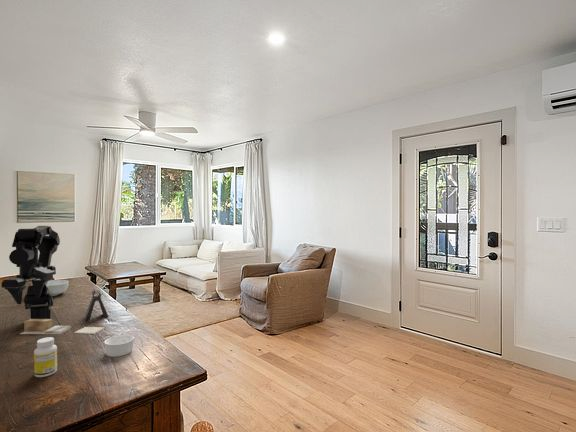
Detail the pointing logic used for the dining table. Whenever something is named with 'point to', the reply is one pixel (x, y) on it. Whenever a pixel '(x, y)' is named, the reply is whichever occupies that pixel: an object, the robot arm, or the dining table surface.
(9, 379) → the dining table surface
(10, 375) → the dining table surface
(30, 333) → the tool rest
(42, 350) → the supplement bottle
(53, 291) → the cereal bowl
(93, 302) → the phone stand
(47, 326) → the turner
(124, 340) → the ramekin
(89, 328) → the tile
